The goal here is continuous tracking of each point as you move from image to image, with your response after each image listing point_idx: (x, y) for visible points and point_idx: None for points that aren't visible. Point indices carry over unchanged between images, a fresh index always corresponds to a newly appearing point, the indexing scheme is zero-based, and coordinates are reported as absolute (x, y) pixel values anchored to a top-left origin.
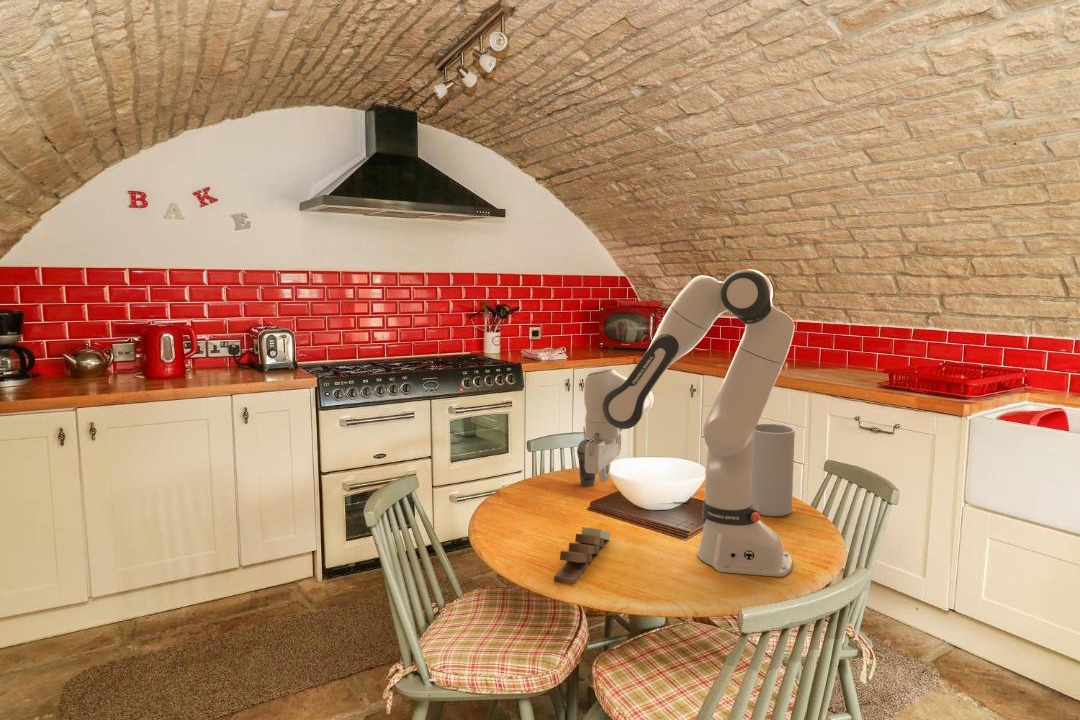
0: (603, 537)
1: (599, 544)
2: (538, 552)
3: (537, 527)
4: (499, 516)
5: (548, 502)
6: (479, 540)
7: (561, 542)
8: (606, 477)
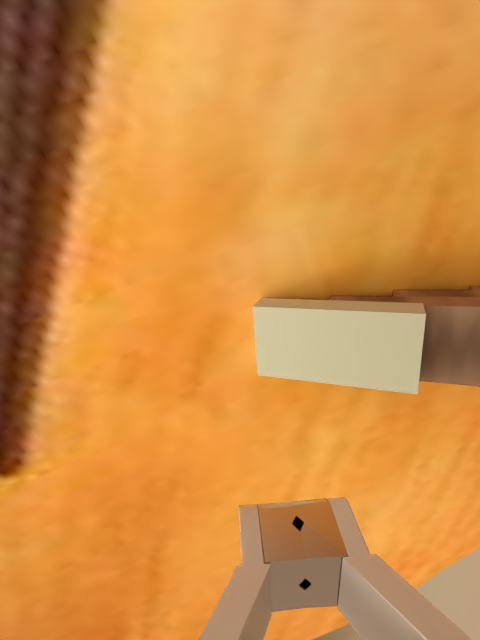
0: (360, 302)
1: (403, 297)
2: (432, 453)
3: None
4: None
5: (38, 589)
6: None
7: (340, 429)
8: (324, 527)
